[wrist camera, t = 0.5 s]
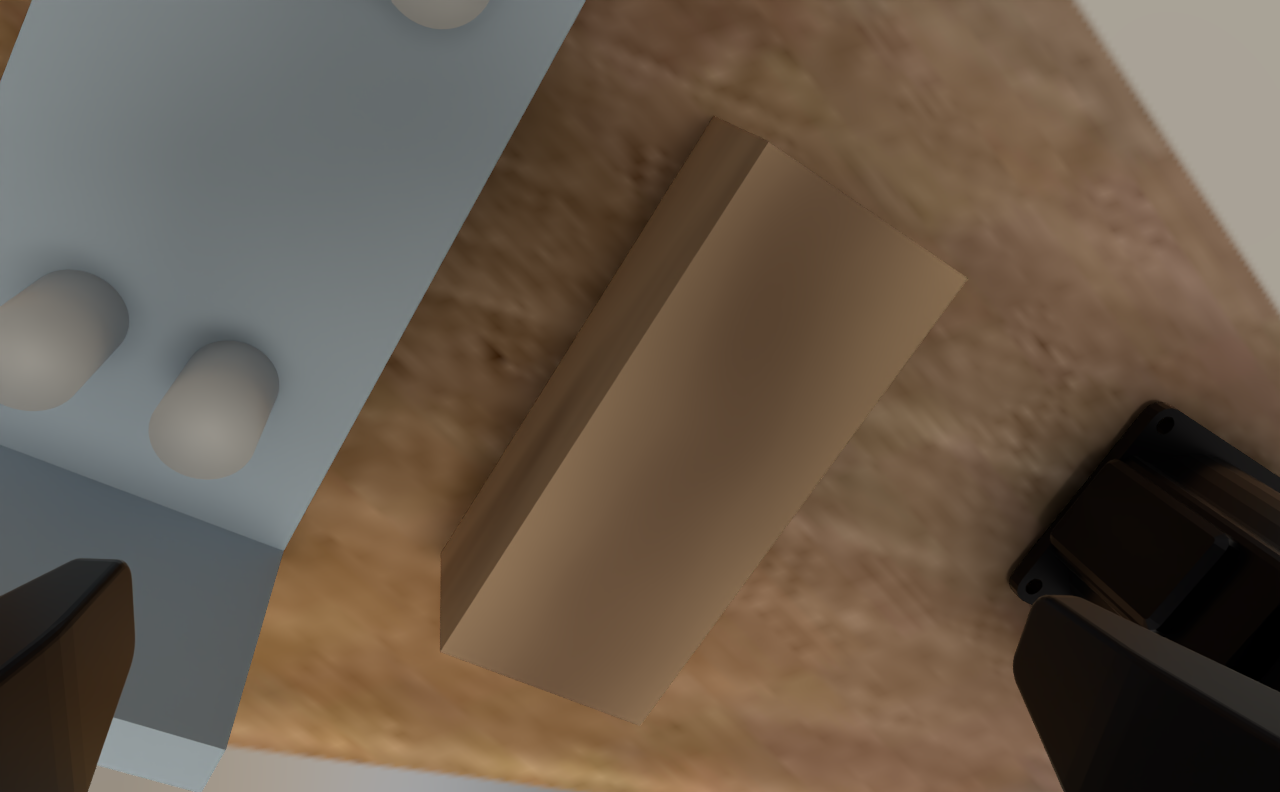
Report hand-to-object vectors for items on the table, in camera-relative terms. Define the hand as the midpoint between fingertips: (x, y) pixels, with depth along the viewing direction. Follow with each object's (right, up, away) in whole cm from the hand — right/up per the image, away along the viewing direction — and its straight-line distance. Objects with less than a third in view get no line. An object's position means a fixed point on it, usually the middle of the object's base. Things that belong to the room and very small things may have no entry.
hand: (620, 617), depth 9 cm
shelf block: (+1, +2, +13) cm, 13 cm away
